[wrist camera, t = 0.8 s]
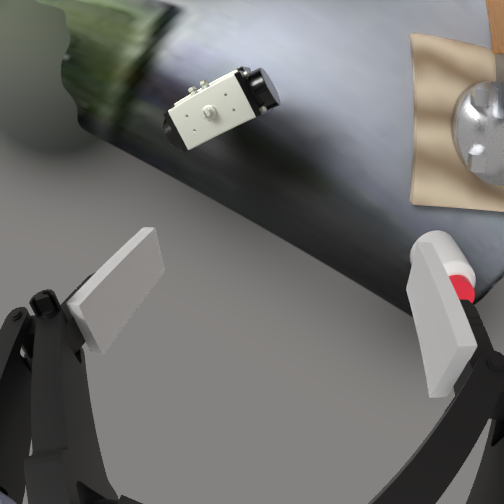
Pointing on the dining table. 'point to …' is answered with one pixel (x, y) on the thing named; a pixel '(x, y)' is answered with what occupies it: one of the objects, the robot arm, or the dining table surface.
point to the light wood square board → (446, 123)
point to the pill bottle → (451, 262)
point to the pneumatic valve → (219, 107)
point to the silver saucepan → (483, 112)
